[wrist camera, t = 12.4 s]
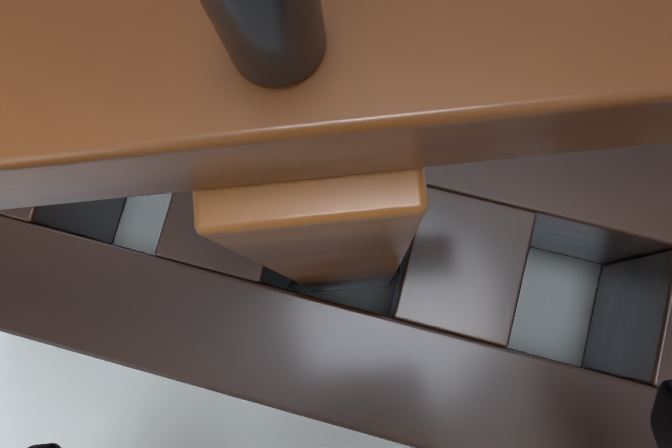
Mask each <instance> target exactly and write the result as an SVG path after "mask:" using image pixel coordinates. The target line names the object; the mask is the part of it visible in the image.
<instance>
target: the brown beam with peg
mask: <svg viewBox="0 0 672 448" xmlns="http://www.w3.org/2000/svg"><path fill="white" fill-rule="evenodd" d="M671 142H672V0H0V210H4V209H14V208H24V207H34V206H44V205H54V204H64V203H74V202H83V201H93V200H103V199H113V198H123V197H133V196H143V195H153V194H163V193H173V192H183V191H192V192H193V211H194V227H195V229H196V231H197V233H198V234H199V235H201V236H203V237H206V238H208V239H210V240H212V241H214V242H216V243H218V244H220V245H222V246H224V247H226V248H228V249H230V250H232V251H234V252H236V253H238V254H240V255H243V256H245V257H247V258H249V259H251V260H253V261H255V262H257V263H259V264H261V265H263V266H265V267H267V268H269V269H271V270H273V271H275V272H277V273H279V274H282V275H284V276H286V277H288V278H290V279H292V280H294V281H296V282H298V283H300V284H302V285H304V286H306V287H308V288H310V289H312V290H314V291H317V292H323V291H334V290H345V289H356V288H366V287H377V286H388V285H390V283H391V281H392V279H393V277H394V275H395V273H396V271H397V269H398V267H399V265H400V263H401V261H402V259H403V257H404V255H405V253H406V251H407V249H408V247H409V245H410V243H411V241H412V239H413V237H414V235H415V233H416V231H417V229H418V227H419V225H420V223H421V221H422V219H423V217H424V215H425V213H426V211H427V208H428V204H429V202H428V194H427V185H426V176H425V167H432V166H442V165H452V164H462V163H472V162H482V161H492V160H502V159H511V158H521V157H531V156H541V155H551V154H561V153H571V152H581V151H591V150H601V149H611V148H621V147H631V146H641V145H651V144H661V143H671Z"/></svg>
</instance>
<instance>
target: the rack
mask: <svg viewBox="0 0 672 448" xmlns="http://www.w3.org/2000/svg"><path fill="white" fill-rule="evenodd" d="M425 176H426V185H427V194H428V202H429V204H428V208H427V211H426V213H425V215H424V217H423V219H422V221H421V223H420V225H419V227H418V229H417V231H416V233H415V235H414V237H413V239H412V241H411V243H410V245H409V247H408V249H407V251H406V253H405V255H404V257H403V260H402V264H401V268H400V272H399V276H398V280H397V284H396V288H395V292H394V296H393V300H392V304H391V308H390V312H389V317H387V316H384V315H380V314H376V313H372V312H368V311H364V310H361V309H357V308H353V307H349V306H345V305H342V304H338V303H334V302H330V301H326V300H323V299H319V298H315V297H311V296H307V295H303V294H300V293H296V292H292V291H288V288H289V284H290V281H291V279H290V278H288V277H286V276H284V275H282V274H279V273H277V272H275V271H273V270H271V269H269V268H267V267H265V266H263V265H261V264H259V263H257V262H255V261H253V260H251V259H249V258H247V257H245V256H243V255H240V254H238V253H236V252H234V251H232V250H230V249H228V248H226V247H224V246H222V245H220V244H218V243H216V242H214V241H212V240H210V239H208V238H206V237H203V236H201V235H199V234H198V233H197V231H196V229H195V227H194V211H193V192H192V191H183V192H173V195H172V198H171V201H170V205H169V208H168V211H167V215H166V218H165V221H164V225H163V228H162V231H161V235H160V238H159V241H158V244H157V248H156V251H155V255H156V256H155V255H151V254H147V253H143V252H140V251H136V250H132V249H128V248H124V247H120V246H117V245H113V244H111V243H112V240H113V237H114V234H115V231H116V227H117V224H118V221H119V218H120V214H121V211H122V208H123V205H124V202H125V198H126V197H123V198H113V199H103V200H93V201H83V202H74V203H64V204H54V205H44V206H34V207H24V208H14V209H4V210H0V331H2V332H6V333H9V334H13V335H16V336H20V337H23V338H27V339H31V340H34V341H38V342H41V343H45V344H48V345H52V346H55V347H59V348H63V349H66V350H70V351H73V352H77V353H80V354H84V355H87V356H91V357H94V358H98V359H102V360H105V361H109V362H112V363H116V364H119V365H123V366H126V367H130V368H134V369H137V370H141V371H144V372H148V373H151V374H155V375H158V376H162V377H165V378H169V379H173V380H176V381H180V382H183V383H187V384H190V385H194V386H197V387H201V388H205V389H208V390H212V391H215V392H219V393H222V394H226V395H229V396H233V397H236V398H240V399H244V400H247V401H251V402H254V403H258V404H261V405H265V406H268V407H272V408H276V409H279V410H283V411H286V412H290V413H293V414H297V415H300V416H304V417H307V418H311V419H315V420H318V421H322V422H325V423H329V424H332V425H336V426H339V427H343V428H347V429H350V430H354V431H357V432H361V433H364V434H368V435H371V436H375V437H378V438H382V439H386V440H389V441H393V442H396V443H400V444H403V445H407V446H410V447H414V448H658V446H657V443H656V441H655V438H654V435H653V432H652V428H651V423H650V415H651V411H652V407H653V404H654V400H655V397H656V393H657V390H658V387H659V384H660V383H661V382H663V381H665V380H672V142H671V143H661V144H651V145H641V146H631V147H621V148H611V149H601V150H591V151H581V152H571V153H561V154H551V155H541V156H531V157H521V158H511V159H502V160H492V161H482V162H472V163H462V164H452V165H442V166H432V167H425ZM530 246H531V247H535V248H539V249H543V250H547V251H551V252H555V253H559V254H563V255H567V256H571V257H575V258H579V259H583V260H588V261H592V262H596V263H600V264H604V265H603V267H602V270H601V275H600V280H599V285H598V290H597V295H596V300H595V305H594V310H593V315H592V320H591V325H590V330H589V335H588V339H587V344H586V349H585V354H584V359H583V364H582V367H578V366H574V365H570V364H567V363H563V362H559V361H555V360H551V359H547V358H544V357H540V356H536V355H532V354H528V353H525V352H521V351H517V350H513V349H509V348H506V347H507V346H508V343H509V338H510V334H511V329H512V325H513V320H514V316H515V311H516V307H517V302H518V297H519V293H520V288H521V284H522V279H523V275H524V270H525V266H526V261H527V256H528V252H529V247H530Z"/></svg>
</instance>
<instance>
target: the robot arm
mask: <svg viewBox="0 0 672 448" xmlns="http://www.w3.org/2000/svg"><path fill="white" fill-rule="evenodd" d="M650 423H651V428H652V432H653V435H654V438H655V441H656V443H657V446H658V448H672V380H665V381H663V382H661V383H660V384H659V387H658V390H657V393H656V397H655V400H654V404H653V407H652V411H651V415H650ZM28 448H61V447H60V446H59V445H58V444H55V443H49V444H39V445H33V446H30V447H28Z"/></svg>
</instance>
